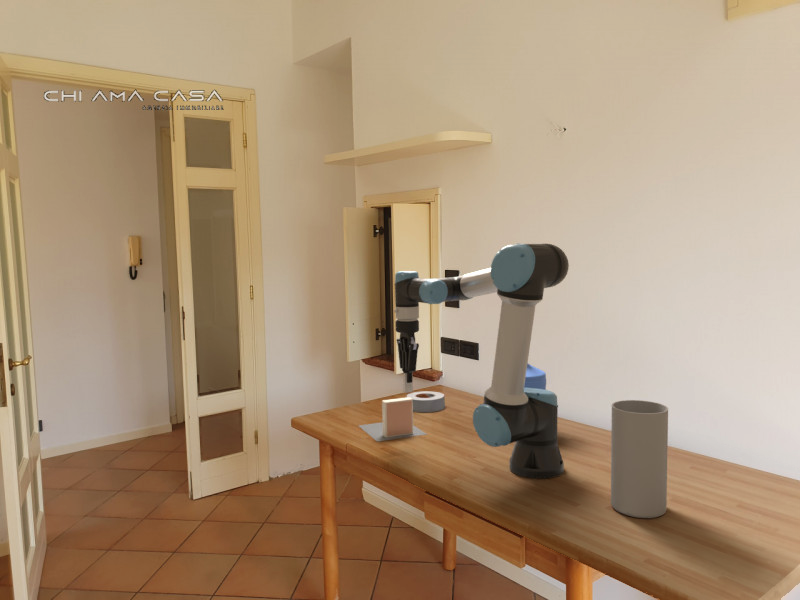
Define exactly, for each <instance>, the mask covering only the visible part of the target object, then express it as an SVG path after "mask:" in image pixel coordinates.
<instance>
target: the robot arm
mask: <svg viewBox="0 0 800 600" xmlns="http://www.w3.org/2000/svg"><path fill="white" fill-rule="evenodd" d="M569 267H570V265H569V260H568V257H567V255H566V253H565V251H564V250H563V249H562V248H560V247H559V246H556V245H554V244H551V243H515V244H507V245H505V246H503V247H502V248H500V249H499V251H497V252H496V254H495V255H494V256H493V258H492V260H491V264H490V267H489V268H485V269H481V270H477V271H473V272H469V273H465V274H462V275H458V276H452V277H433V278H420V277H419V272H417V271H415V270H412V271H411V270H403V271H397V272H396V273H395V275H394V276H395V277H394V302H395V306H394V308H395V309H394V310H393V311H394V313H395V319H396V320H395V332H396V333H398V334H399V338H396V345H397V351H398V359H399V368H400V369H401V371H402V383H403V385H402V388H403V389H402V390H403V391H402V392H403V393H404V394H407V393H408V394H410V393H414V389H413V388H414V385H413V384H414V383H413V381H414V380H413V376H414V375H413V373H414V372H416V371H417V362H418V350H419V347H420V344H419V343H418V342H417V343H416V335H415V333H418V332H419V330H420V321H419V318H420V304H419V303H422V304H428V305H441V304H442V303H443V302H444V303H447V302H453V301H454V302H455V301H469V300H471V299H473V298H475V297H481V296H486V295H489V294H495V293H496V294H497V296H498V297H499V299H500V300H501V306H500V314H499V323H498V329H497V338H496V345H495V346H496V347H495V352H494V353H495V355H494V362H493V370H492V376H491V379H492V380H491V386H490V387H489V388H487V389H486V390H485V391H484V396H483V403H481V404H479V405H478V406H477V407H475V409H474V411H473V414H472V424H473V428H474V431H475V432H476V434H477V436H478V437H479V439H480V440H481V441H482V442H483V443H484V444H485V445H487V446H490V447H492V448H496V447H497V448H498V447H505V446H508V445H509V444H512V443H514V446H513V448H512V451H511V456H510V458H509V466H508V467H509V470H510V472H512V473H513V474H515V475H517V476H521V477H525V478H528V479H529V478H530V479H538V480H539V479H540V480H541V479H551V478H556V477H559V476H561V475H563V473H564V471H565V469H564V467H565V463H564V460H563V457H562V454H561V450H560V448H559V445H558V418H559V417H558V416H559V415H558V409H559V404H558V395H556V393H555V392H553V391H551V390H548V389H546V390H543V389H537V388H524V385H525V377H526V370H527V363H528V362H529V356H530V350H531V349H530V345H531V340H532V333H533V326H534V318H535V312H536V306H537V304H539V303H541V301H543V297H544V291H545V289H547V288H553V287H556V286H557V285H559V284H561V283H562V281H564V279H565V278H566V277H567V275H568V271H569ZM528 364H529V363H528Z"/></svg>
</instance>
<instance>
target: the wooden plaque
mask: <svg viewBox="0 0 800 600" xmlns="http://www.w3.org/2000/svg"><path fill="white" fill-rule="evenodd" d="M381 415H382V423H383V436H384V437H386V438H387V437H394V436H401V435H408V434H413V425H414V411H413V399H411V398H410V397H407V398H406V397H400V398H399V397H398V398H391V399H383V400H381Z"/></svg>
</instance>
